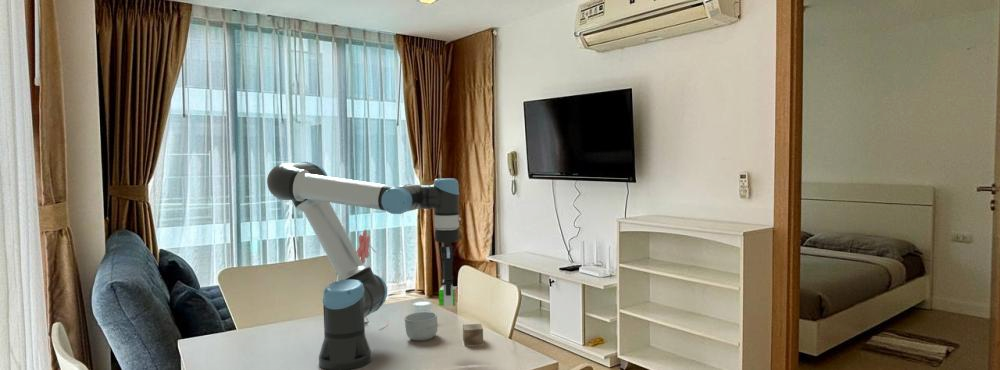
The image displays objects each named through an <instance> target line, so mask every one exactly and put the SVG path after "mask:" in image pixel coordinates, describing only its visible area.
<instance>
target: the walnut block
mask: <svg viewBox="0 0 1000 370" xmlns="http://www.w3.org/2000/svg"><path fill="white" fill-rule="evenodd" d="M462 340H463V342H464V346H463V347H469V346H468V345H476V346H484V345H483V343H484V327H483V326H482V324H481V323H471V324H462ZM463 342H462V343H463Z"/></svg>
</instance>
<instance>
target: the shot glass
mask: <svg viewBox="0 0 1000 370" xmlns="http://www.w3.org/2000/svg"><path fill="white" fill-rule="evenodd" d="M412 308H413V309H412V311H413V313H418V312H422V311H426V312H432V301H427V300H426V301H425V300H421V301H415V302H413V303H412Z"/></svg>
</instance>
